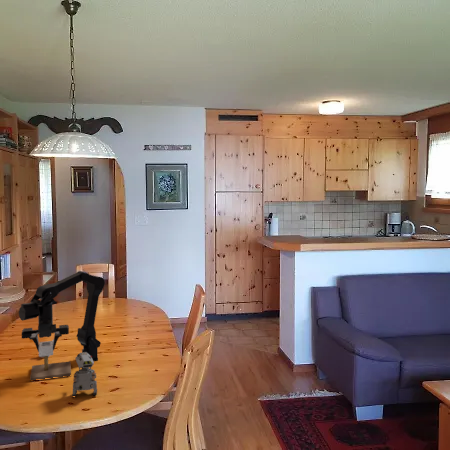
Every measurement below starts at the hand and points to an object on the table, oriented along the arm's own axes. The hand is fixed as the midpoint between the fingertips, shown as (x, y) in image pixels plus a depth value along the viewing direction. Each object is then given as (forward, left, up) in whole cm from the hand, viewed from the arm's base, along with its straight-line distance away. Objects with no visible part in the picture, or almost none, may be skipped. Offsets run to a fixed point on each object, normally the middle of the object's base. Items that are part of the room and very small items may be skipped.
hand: (46, 350), depth 188 cm
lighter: (0, -21, -10) cm, 23 cm away
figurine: (-15, +25, -10) cm, 31 cm away
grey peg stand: (-2, 0, -10) cm, 10 cm away
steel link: (0, 0, -1) cm, 1 cm away
